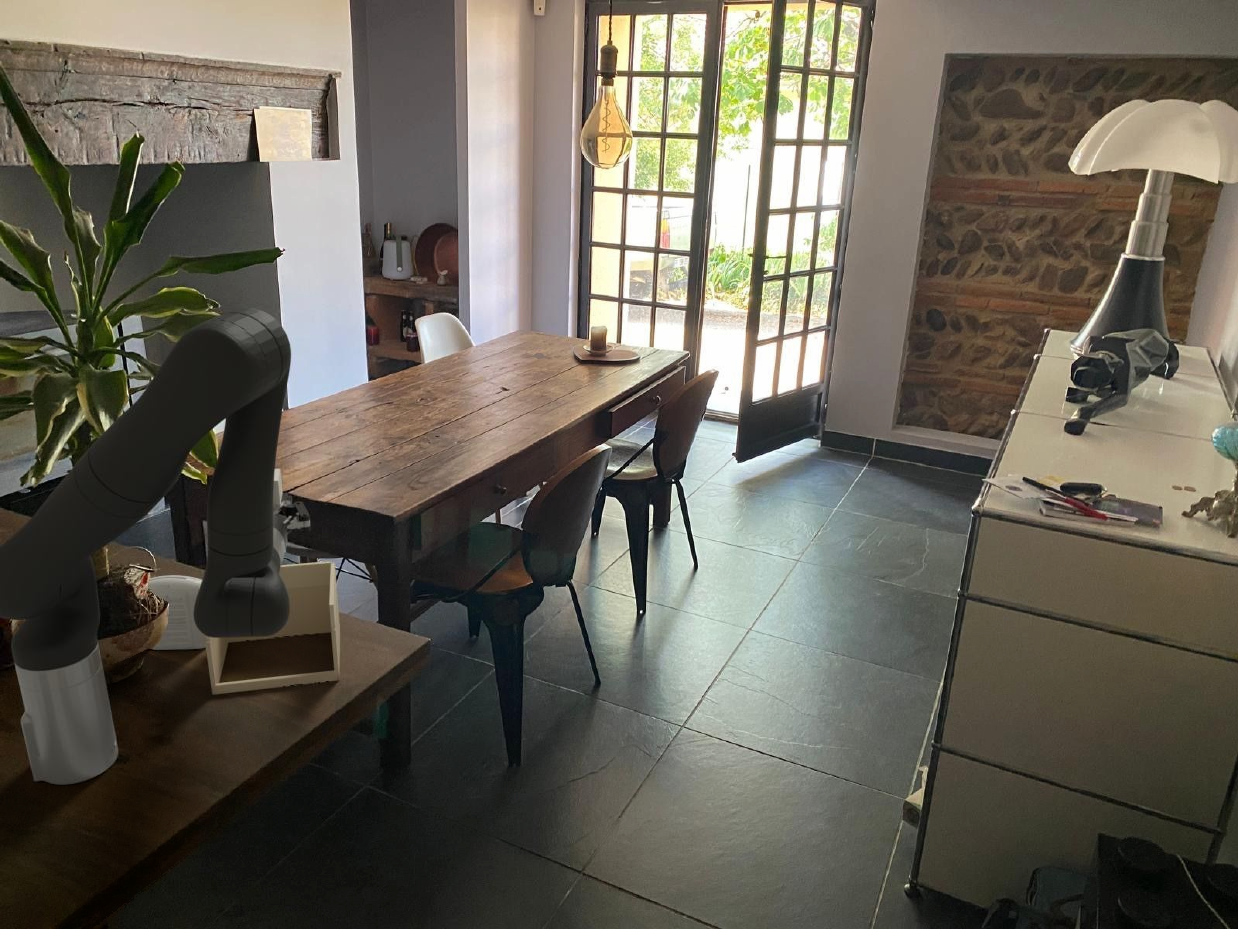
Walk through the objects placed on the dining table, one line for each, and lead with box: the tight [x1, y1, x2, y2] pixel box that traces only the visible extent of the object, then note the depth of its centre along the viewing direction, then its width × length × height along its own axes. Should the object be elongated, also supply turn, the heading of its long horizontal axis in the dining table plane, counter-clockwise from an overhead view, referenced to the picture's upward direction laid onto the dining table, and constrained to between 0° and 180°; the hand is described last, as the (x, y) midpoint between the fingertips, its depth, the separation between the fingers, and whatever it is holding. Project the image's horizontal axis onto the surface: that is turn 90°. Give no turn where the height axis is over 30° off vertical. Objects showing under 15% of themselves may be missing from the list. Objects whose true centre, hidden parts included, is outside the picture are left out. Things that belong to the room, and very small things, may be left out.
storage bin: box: [205, 560, 341, 695], centre depth 145 cm, size 18×15×13 cm
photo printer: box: [148, 574, 206, 651], centre depth 148 cm, size 10×4×12 cm, turn 98°
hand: (265, 499), depth 140 cm, fingers closed on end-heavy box, 5 cm apart
